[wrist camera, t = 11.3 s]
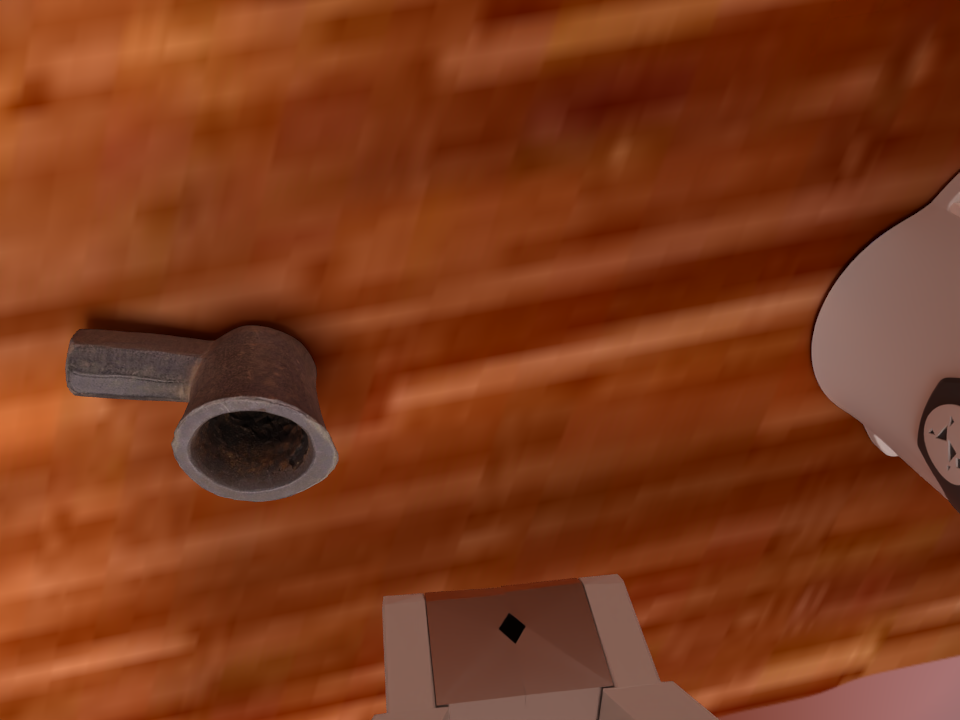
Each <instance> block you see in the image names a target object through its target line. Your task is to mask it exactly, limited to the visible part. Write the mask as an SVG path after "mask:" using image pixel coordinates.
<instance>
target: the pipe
mask: <svg viewBox="0 0 960 720" xmlns="http://www.w3.org/2000/svg"><path fill="white" fill-rule="evenodd" d="M65 370H66V381H67V387H68V388H69V390H70V391H71V392H72V393H73V394H74V395H77V396H85V397H100V398H113V399H130V400H154V401H176V402H189V403H188V406H187V408H186V410H185V413H184V415H183V417H182V419H181V420H180V422H179V424H178V426H177V428H176V430H175V432H174V435H175V436H174V439H173V441H172V443H171V444H172V448H173V452H174V456H175V458H176V460H177V462H178V464H179V466H180V467H181V468H182V469H183V470H184V471H185V473H186V474H187V475H188V476H189V477H190V478H191V479H192V480H194V481H195V482H196V483H197V484H198V485H200V486H201V487H202V488H204V489H206V490H208V491H210V492H212V493H214V494H216V495H218V496H221V497H226V498H231V499H235V500H244V501H253V502H259V501H270V500H276V499H281V498H285V497H289V496H292V495H294V494H296V493H299V492H301V491H304V490H306V489H308V488H310V487H311V486H313V485H315V484H317V483H319V482H320V481H322V480H324V479H325V478H326V477H327V476H328V474H329V473H330V472H331V471H332V470H333V469H334V468H335V466H336V464H337V462H338V452H337V450H336V448H335V446H334V444H333V442H332V439H331V437H330V435H329V433H328V432H327V430H326V427H325V424H324V421H323V418H322V415H321V411H320V407H319V403H318V398H317V392H316V376H317V371H316V365H315V363H314V361H313V359H312V357H311V355H310V354H309V352H308V351H307V349H306V348H305V347H304V346H303V345H302V343H301V342H299V341H298V340H297V339H295V338H294V337H292V336H290V335H288V334H286V333H284V332H281V331H278V330H275V329H272V328H269V327H264V326H253V325H247V326H241V327H238V328H236V329H233V330H231V331H230V332H228V333H226V334H225V335H223V336H221V337H219V338H218V339H217V340H215V341H208V340H201V339H194V338H187V337H179V336H171V335H163V334H154V333H140V332H124V331H113V330H101V329H79V330H78V331H77V332H76V333H75V334H74V336H73V337H72V338H71V340H70V344H69V348H68V353H67V359H66V368H65Z"/></svg>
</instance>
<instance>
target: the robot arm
mask: <svg viewBox="0 0 960 720" xmlns="http://www.w3.org/2000/svg"><path fill="white" fill-rule="evenodd" d="M812 364H813V369H814V373H815V376H816V379H817V381H818V383H819V385H820V387H821V389H822V391H823V392H824V393H825V395H826V396H827V397H828V398H829V399H830V400H831V401H832V402H833V403H834V404H835V405H837V406H838V407H839V408H841V409H842V410H844V411H846V412H847V413H849V414H850V415H852V416H853V417H854V418H856V419H857V420H858V421H860V422H861V423H862V424H863V425H864V427H865V429H866V432H867V434H868V436H869V437H870V439H871V441H872V442H873V443H874V444H875V445H876V446H877V447H878V448H879V449H880V450H881V451H882V452H883V453H885V454H886V455H888V456H899V457H900V458H901V459H903V460H904V461H905V462H906V463H907V464H908V465H909V466H910V467H912V468H913V469H914V470H915V471H916V472H917V473H918V474H919V475H920V476H922V477H923V478H924V479H925V480H926V481H927V482H928V483H929V484H931V485H932V486H933V487H934V488H935V489H936V490H937V491H939V492H940V493H941V494H942V495H943V496H944V497H945V498H947V499H948V501H949V502H950V503H951V504H952V506H953V507H954V508H955V509H956V510H957V511H958V512H959V513H960V173H959V174H958V175H957V176H956V177H955V178H954V179H953V180H951V182H950V183H949V184H948V185H947V186H946V187H945V188H944V189H943V190H942V191H941V192H940V193H939V195H938V196H937V197H936V198H935V199H934V200H933V201H932V202H931V203H930V204H929V205H927V206H926V207H925V208H924V209H922V210H921V211H919V212H918V213H916V214H914V215H913V216H911V217H909V218H908V219H906V220H904V221H903V222H901V223H899V224H898V225H896V226H894V227H893V228H891V229H890V230H888V231H887V232H885V233H884V234H883V235H881V236H880V237H879V238H877V239H876V240H875V241H874V242H872V243H871V244H870V245H869V246H868V247H867V248H866V249H864V250H863V251H862V252H861V253H860V254H859V255H858V256H857V257H856V258H855V259H854V260H853V261H852V262H851V264H850V265H849V266H848V267H847V268H846V269H845V271H844V272H843V273H842V274H841V276H840V277H839V278H838V280H837V281H836V283H835V284H834V286H833V287H832V289H831V291H830V292H829V294H828V296H827V298H826V300H825V302H824V303H823V306H822V308H821V310H820V313H819V315H818V318H817V321H816V325H815V328H814V333H813V339H812ZM382 612H383V636H384V660H385V684H386V708H387V713H384V714H377V715H374V716H373V718H372V720H719V719H718V718H716V717H715V716H714V715H713V714H712V713H710V712H709V711H708V710H707V709H706V708H704V707H703V706H702V705H701V704H700V703H698V702H697V701H696V700H695V699H693V698H692V697H691V696H690V695H689V694H687V693H686V692H685V691H684V690H683V689H681V688H680V687H679V686H678V685H677V684H675V683H674V682H673V681H669V682H661V681H660V679H659V676H658V673H657V671H656V668H655V665H654V662H653V660H652V657H651V654H650V652H649V649H648V646H647V644H646V641H645V638H644V636H643V633H642V630H641V627H640V625H639V622H638V619H637V617H636V614H635V611H634V609H633V606H632V603H631V600H630V598H629V595H628V592H627V590H626V587H625V584H624V582H623V580H622V579H621V577H620V576H619V575H618V574H613V575H603V576H594V577H584V578H579V579H577V578H570V579H561V580H552V581H543V582H533V583H524V584H515V585H506V586H501V587H497V588H483V589H469V590H455V591H441V592H427V593H425V595H424V594H423V593H420V594H408V595H395V596H384V597H383V606H382Z"/></svg>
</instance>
